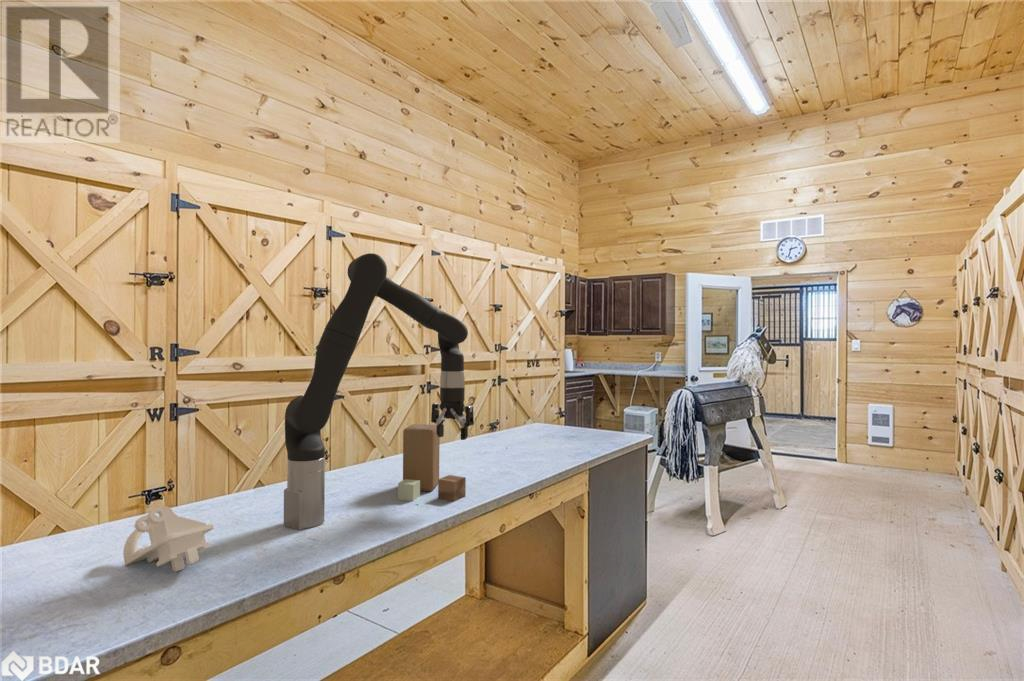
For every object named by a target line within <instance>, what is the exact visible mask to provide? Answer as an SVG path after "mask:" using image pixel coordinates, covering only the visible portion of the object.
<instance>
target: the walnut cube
mask: <svg viewBox="0 0 1024 681" xmlns="http://www.w3.org/2000/svg"><path fill="white" fill-rule="evenodd" d="M466 481H467V480H466V476H459V475H452V474H448V475H446V476H443V477H439V479H438V485H437V499H440V500H444V501H449V502H457V501H458V500H462V499H463V498H465V497H466Z"/></svg>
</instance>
